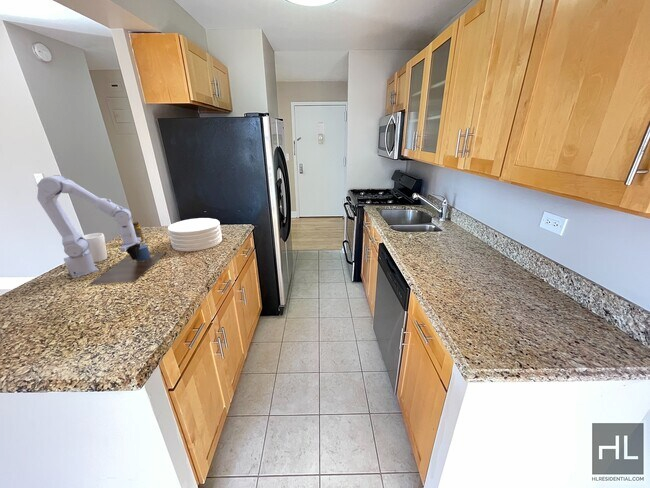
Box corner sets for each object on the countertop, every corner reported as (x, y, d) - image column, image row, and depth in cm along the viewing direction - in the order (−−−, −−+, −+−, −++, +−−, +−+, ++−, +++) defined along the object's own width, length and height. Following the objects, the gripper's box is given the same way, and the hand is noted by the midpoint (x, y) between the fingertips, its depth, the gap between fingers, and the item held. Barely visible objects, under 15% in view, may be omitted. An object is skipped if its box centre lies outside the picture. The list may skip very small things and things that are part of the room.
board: (134, 282, 114) (134, 281, 114) (89, 284, 111) (89, 284, 111) (166, 253, 143) (165, 252, 143) (130, 255, 141) (130, 254, 141)
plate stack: (231, 236, 168) (228, 219, 163) (201, 253, 143) (197, 234, 138) (195, 233, 175) (192, 216, 170) (160, 248, 150) (155, 229, 145)
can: (140, 262, 132) (136, 250, 129) (132, 259, 134) (129, 248, 132) (153, 257, 137) (150, 246, 135) (146, 255, 140) (142, 244, 138)
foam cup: (108, 254, 142) (101, 231, 137) (113, 258, 136) (105, 235, 131) (86, 259, 135) (77, 236, 130) (90, 264, 129) (81, 240, 125)
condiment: (144, 238, 164) (139, 220, 160) (145, 242, 158) (140, 223, 154) (130, 241, 160) (124, 222, 156) (131, 245, 154) (125, 226, 150)
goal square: (147, 261, 133) (147, 261, 133) (128, 262, 132) (128, 262, 132) (155, 254, 141) (155, 254, 141) (138, 255, 140) (138, 255, 140)
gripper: (128, 238, 119) (136, 265, 124) (144, 228, 132) (151, 253, 137) (111, 239, 118) (120, 265, 123) (129, 229, 131) (136, 253, 136)
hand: (135, 259), depth 130 cm, fingers closed
